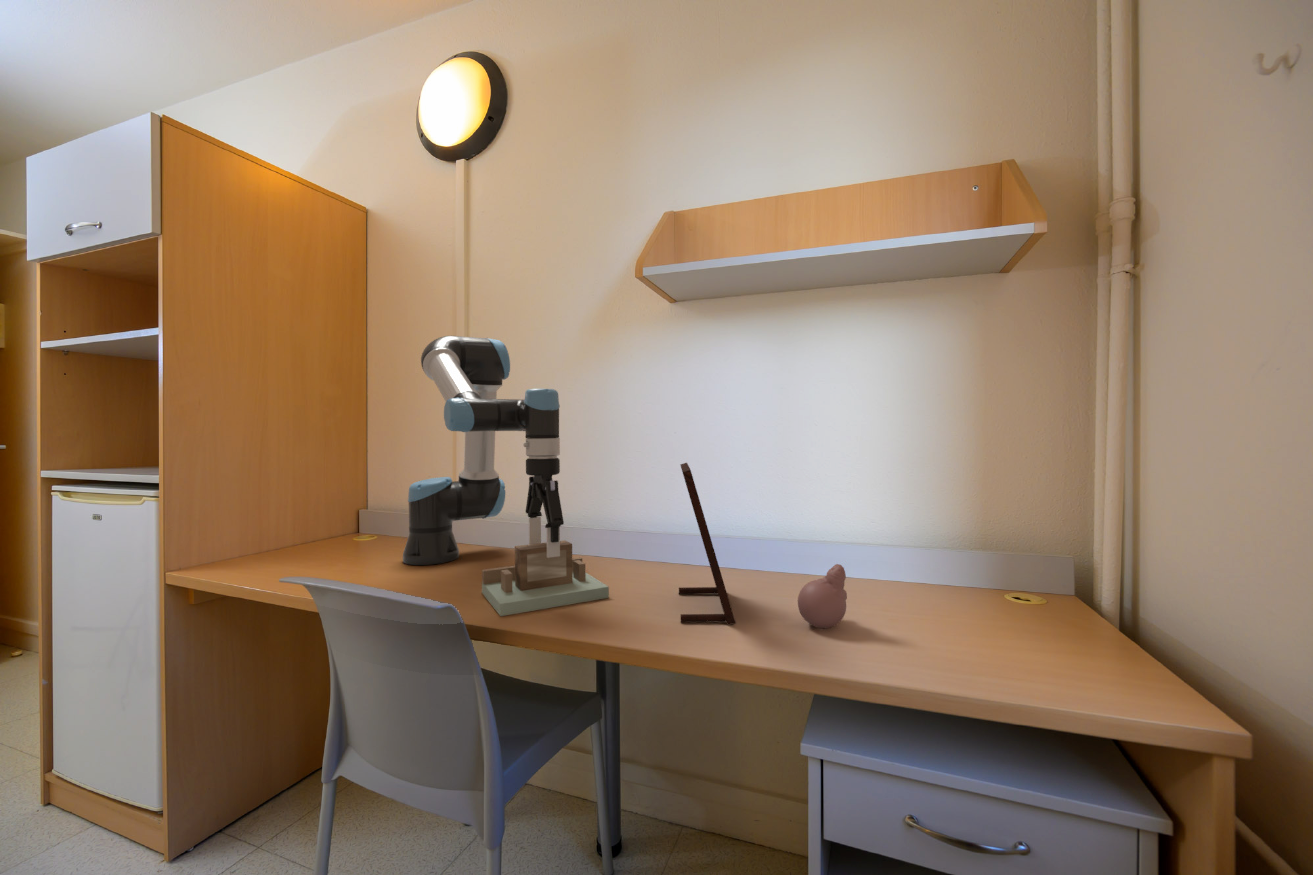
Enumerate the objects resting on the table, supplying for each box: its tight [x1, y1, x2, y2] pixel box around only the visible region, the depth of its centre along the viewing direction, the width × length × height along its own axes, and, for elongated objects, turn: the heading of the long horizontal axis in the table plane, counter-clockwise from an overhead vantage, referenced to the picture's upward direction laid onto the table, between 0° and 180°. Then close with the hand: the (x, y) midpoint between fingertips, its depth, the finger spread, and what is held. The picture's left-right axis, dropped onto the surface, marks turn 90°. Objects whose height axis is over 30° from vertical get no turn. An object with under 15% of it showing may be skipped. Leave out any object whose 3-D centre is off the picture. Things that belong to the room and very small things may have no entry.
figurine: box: [797, 563, 848, 629], centre depth 107 cm, size 9×11×12 cm
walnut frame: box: [514, 539, 573, 591], centre depth 127 cm, size 5×12×9 cm, turn 119°
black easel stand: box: [678, 462, 736, 626], centre depth 117 cm, size 21×11×30 cm, turn 179°
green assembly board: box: [481, 556, 610, 617], centre depth 127 cm, size 18×24×6 cm
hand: (543, 550), depth 126 cm, fingers open, 13 cm apart
